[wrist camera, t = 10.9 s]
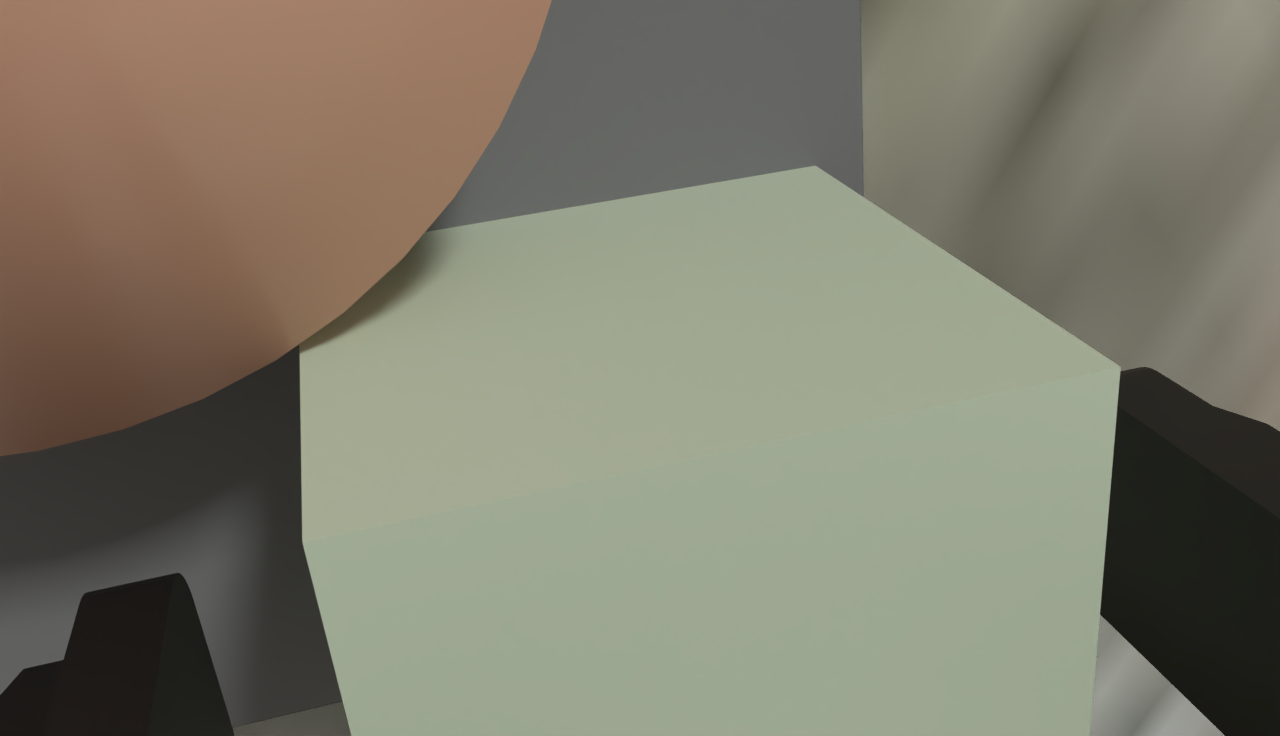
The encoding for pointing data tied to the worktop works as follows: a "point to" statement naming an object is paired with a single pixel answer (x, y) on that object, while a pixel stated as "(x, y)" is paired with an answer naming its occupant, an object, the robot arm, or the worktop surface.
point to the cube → (705, 479)
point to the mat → (495, 189)
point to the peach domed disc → (219, 183)
